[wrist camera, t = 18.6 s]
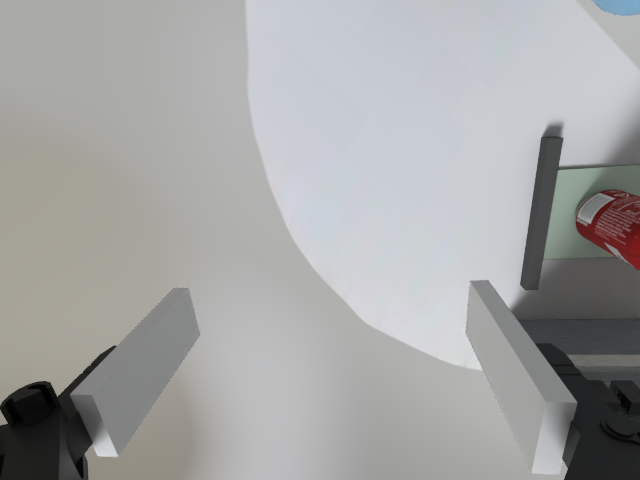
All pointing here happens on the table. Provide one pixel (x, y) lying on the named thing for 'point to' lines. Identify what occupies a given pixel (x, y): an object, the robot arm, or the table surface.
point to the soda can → (612, 223)
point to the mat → (567, 200)
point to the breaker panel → (599, 355)
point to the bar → (540, 211)
